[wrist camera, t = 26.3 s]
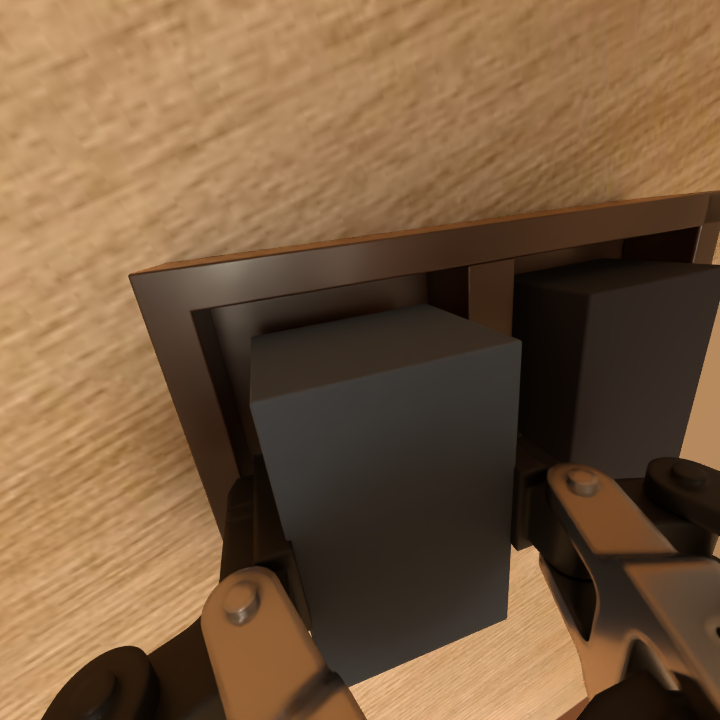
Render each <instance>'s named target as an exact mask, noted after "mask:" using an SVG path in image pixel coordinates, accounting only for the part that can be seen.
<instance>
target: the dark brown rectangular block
mask: <svg viewBox="0 0 720 720" xmlns="http://www.w3.org/2000/svg"><path fill="white" fill-rule="evenodd" d="M719 301H720V265H712V264H695V263H678V262H661V261H644V260H627V259H610V258H602V259H596V260H591V261H586V262H580V263H575V264H569V265H564V266H558V267H553V268H548V269H542V270H537V271H531V272H526V273H521V274H515V275H514V294H513V317H512V337H513V338H516V339H519V340H521V342H522V352H521V371H520V389H519V407H518V426H517V431H519V432H520V433H521V434H522V436H526V437H527V438H528V439H530V440H531V441H532V442H534V443H535V444H536V445H538V446H539V447H540V448H542V449H543V450H545V451H546V452H547V453H549V454H550V455H551V456H553V457H554V458H555V459H557V460H558V461H560V462H561V463H566V462H573V463H581V464H585V465H589V466H592V467H595V468H597V469H599V470H601V471H603V472H604V473H606V474H608V475H609V476H610V477H611V478H612V479H622V478H643V477H645V474H646V469H647V465H648V463H649V462H650V461H651V460H653V459H656V458H661V457H675V458H679V455H680V451H681V448H682V444H683V440H684V436H685V432H686V428H687V425H688V421H689V417H690V413H691V409H692V405H693V401H694V398H695V394H696V389H697V386H698V382H699V378H700V375H701V371H702V367H703V363H704V359H705V355H706V351H707V348H708V344H709V340H710V336H711V332H712V328H713V325H714V321H715V317H716V313H717V309H718V305H719Z"/></svg>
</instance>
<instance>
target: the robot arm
mask: <svg viewBox="0 0 720 720" xmlns="http://www.w3.org/2000/svg"><path fill="white" fill-rule="evenodd" d="M253 473H254V474H251V475H248V476H244V477H240V478H237V480H236V481H235V483H234V484H233V486H232V488H231V489H230V491H229V493H228V498H227V508H226V510H227V512H226V518H225V525H226V526H225V528H224V539H223V549H222V559H221V570H220V580H219V584H218V585H217V586H216V588H215V589H214V590H213V591H212V593H211V594H210V595H209V597H208V599H207V601H206V602H205V605H204V607H203V610H202V615H201V616H200V617H199V618H198V619H197V620H196V621H195V622H194V623H193V624H192V625H191V626H189V627H188V628H187V629H186V630H184V631H183V632H181V633H180V634H179V635H177V636H176V637H174V638H173V639H171V640H170V641H168V642H167V643H165V644H164V645H162V646H161V647H159V648H158V649H156V650H155V651H153V652H152V653H150V654H149V655H146V654H145V652H144V651H143V650H141V649H140V648H138V647H134V646H123V647H118V648H115V649H112V650H109V651H107V652H105V653H103V654H101V655H100V656H98V657H96V658H95V659H93V660H92V661H90V662H89V663H88V664H87V665H85V666H84V667H83V668H81V669H80V670H79V671H78V672H77V673H76V674H75V675H74V676H73V677H72V678H71V679H70V680H69V681H68V682H67V683H66V684H65V685H64V687H63V688H62V689H61V690H60V692H59V693H58V694H57V695H56V697H55V698H54V700H53V701H52V703H51V704H50V706H49V707H48V709H47V711H46V712H45V714H44V716H43V717H42V719H41V720H367V719H366V717H365V715H364V714H363V712H362V710H361V709H360V707H359V705H358V703H357V702H356V700H355V698H354V697H353V695H352V693H351V691H350V690H349V688H348V687H347V685H346V683H345V682H344V680H343V679H342V678H341V676H340V675H339V674H338V673H337V672H336V671H334V672H332V671H331V670H330V668H329V667H328V665H327V664H326V662H325V660H324V659H323V657H322V655H321V653H320V652H319V650H318V648H317V646H316V644H315V643H314V641H313V639H312V637H311V636H310V634H309V632H308V631H310V630H313V625H312V619H311V614H310V611H309V607H308V603H307V599H306V595H305V591H304V588H303V584H302V580H301V576H300V572H299V569H298V565H297V561H296V557H295V553H294V549H293V546H292V542H291V540H290V541H287V540H286V539H285V535H284V532H283V528H282V524H281V521H280V517H279V513H278V509H277V506H276V502H275V498H274V495H273V491H272V487H271V483H270V480H269V476H268V472H267V469H266V465H265V461H264V457H263V454H262V453H259V454H255V455H254V457H253ZM719 536H720V471H718V470H715V469H713V468H710V467H707V466H705V465H702V464H700V463H697V462H694V461H690V460H686V459H681V458H675V457H661V458H656V459H653V460H651V461H650V462H649V463H648V465H647V469H646V474H645V477H643V478H622V479H612V478H611V477H610V476H609V475H608V474H606V473H604V472H603V471H601V470H599V469H597V468H595V467H592V466H589V465H585V464H581V463H573V462H566V463H561V462H560V461H558V460H557V459H555V458H554V457H553V456H551V455H550V454H549V453H547V452H546V451H545V450H543V449H542V448H540V447H539V446H538V445H536V444H535V443H534V442H532V441H531V440H530V439H528V438H527V437H526V436H522V434H521V433H520V432H519V431H517V444H516V462H515V468H514V478H513V497H512V515H511V534H510V543H511V544H512V545H513V547H514V548H515V549H516V550H517V551H519V550H522V549H524V548H527V547H530V546H532V545H534V547H535V548H536V549H537V550H538V551H539V552H540V553H539V566H540V568H541V571H542V573H543V575H544V578H545V580H546V582H547V584H548V586H549V589H550V591H551V593H552V595H553V598H554V600H555V602H556V604H557V606H558V609H559V611H560V613H561V615H562V618H563V620H564V622H565V624H566V626H567V629H568V631H569V633H570V635H571V638H572V640H573V642H574V644H575V647H576V649H577V652H578V655H579V658H580V662H581V666H582V673H583V679H584V684H585V688H586V692H587V695H588V698H589V701H590V702H589V704H588V705H587V706H586V708H585V709H584V710H583V712H582V713H581V714H580V716H579V717H578V718H577V720H720V559H719V558H717V557H715V556H713V555H712V554H713V551H714V548H715V545H716V542H717V540H718V537H719Z"/></svg>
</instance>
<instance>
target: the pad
mask: <svg viewBox="0 0 720 720" xmlns="http://www.w3.org/2000/svg"><path fill="white" fill-rule="evenodd" d="M521 352H522V342H521V340H519V339H516V338H513V337H511V336H508V335H506V334H503V333H501V332H498V331H495V330H493V329H490V328H488V327H485V326H483V325H480V324H477V323H475V322H472V321H470V320H467V319H464V318H462V317H459V316H457V315H454V314H452V313H449V312H446V311H444V310H441V309H439V308H436V307H433V306H431V305H428V304H421V305H416V306H410V307H405V308H400V309H395V310H389V311H384V312H379V313H374V314H368V315H363V316H358V317H353V318H347V319H342V320H337V321H332V322H326V323H321V324H316V325H311V326H305V327H300V328H295V329H290V330H285V331H279V332H274V333H269V334H264V335H258V336H253V337H252V338H251V366H250V409H251V413H252V417H253V420H254V424H255V428H256V431H257V435H258V439H259V443H260V446H261V450H262V454H263V457H264V461H265V465H266V469H267V472H268V476H269V480H270V483H271V487H272V491H273V495H274V498H275V502H276V506H277V509H278V513H279V517H280V521H281V524H282V528H283V532H284V535H285V539H286V540H287V541H290V540H291V542H292V546H293V549H294V553H295V557H296V561H297V565H298V569H299V572H300V576H301V580H302V584H303V588H304V591H305V595H306V599H307V603H308V607H309V611H310V614H311V619H312V625H313V630H310V632H311V636H312V639H313V641H314V643H315V644H316V646H317V648H318V650H319V652H320V653H321V655H322V657H323V659H324V660H325V662H326V664H327V665H328V667H329V668H330V670H331V671H332V672H334V671H336V672H337V673H338V674H339V675H340V676H341V678H342V679H343V680H344V682H345V683H346V685H347V687H350V686H353V685H355V684H357V683H360V682H362V681H364V680H367V679H369V678H371V677H373V676H376V675H378V674H380V673H383V672H385V671H387V670H390V669H392V668H394V667H397V666H399V665H401V664H403V663H406V662H408V661H410V660H413V659H415V658H417V657H420V656H422V655H424V654H427V653H429V652H431V651H434V650H436V649H438V648H440V647H443V646H445V645H447V644H450V643H452V642H454V641H457V640H459V639H461V638H464V637H466V636H468V635H470V634H473V633H475V632H477V631H480V630H482V629H484V628H487V627H489V626H491V625H494V624H496V623H498V622H501V621H503V620H505V619H506V618H507V609H508V590H509V572H510V554H511V543H510V534H511V515H512V497H513V478H514V468H515V462H516V444H517V426H518V407H519V389H520V371H521Z"/></svg>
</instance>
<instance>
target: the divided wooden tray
mask: <svg viewBox="0 0 720 720" xmlns="http://www.w3.org/2000/svg"><path fill="white" fill-rule="evenodd" d="M719 231H720V190H719V191H709V192H699V193H689V194H679V195H669V196H660V197H650V198H640V199H630V200H621V201H614V202H607V203H599V204H592V205H585V206H578V207H570V208H563V209H556V210H549V211H541V212H534V213H527V214H519V215H512V216H505V217H498V218H490V219H483V220H476V221H469V222H461V223H454V224H447V225H439V226H432V227H425V228H418V229H410V230H403V231H396V232H389V233H381V234H374V235H367V236H359V237H352V238H345V239H338V240H330V241H323V242H316V243H309V244H301V245H294V246H287V247H279V248H272V249H265V250H258V251H250V252H243V253H236V254H229V255H221V256H214V257H207V258H199V259H192V260H185V261H178V262H170V263H165V264H162V265H158V266H155V267H152V268H148V269H145V270H141V271H138V272H135V273H131V274H129V275H128V277H129V280H130V283H131V286H132V288H133V291H134V294H135V297H136V300H137V302H138V305H139V308H140V311H141V313H142V316H143V319H144V322H145V325H146V327H147V330H148V333H149V336H150V339H151V341H152V344H153V347H154V350H155V353H156V355H157V358H158V361H159V364H160V367H161V369H162V372H163V375H164V378H165V380H166V383H167V386H168V389H169V392H170V394H171V397H172V400H173V403H174V406H175V408H176V411H177V414H178V417H179V420H180V422H181V425H182V428H183V431H184V434H185V436H186V439H187V442H188V445H189V447H190V450H191V453H192V456H193V459H194V461H195V464H196V467H197V470H198V473H199V475H200V478H201V481H202V484H203V487H204V489H205V492H206V495H207V498H208V501H209V503H210V506H211V509H212V512H213V514H214V517H215V520H216V523H217V526H218V528H219V531H220V534H221V537H222V540H223V539H224V528H225V526H226V525H225V518H226V512H227V510H226V508H227V498H228V493H229V491H230V489H231V488H232V486H233V484H234V483H235V481H236V480H237V478H240V477H244V476H248V475H251V474H254V473H253V457H254V455H255V454H259V453H262V450H261V446H260V443H259V439H258V435H257V431H256V428H255V424H254V420H253V417H252V413H251V409H250V366H251V338H252V337H253V336H258V335H264V334H269V333H274V332H279V331H285V330H290V329H295V328H300V327H305V326H311V325H316V324H321V323H326V322H332V321H337V320H342V319H347V318H353V317H358V316H363V315H368V314H374V313H379V312H384V311H389V310H395V309H400V308H405V307H410V306H416V305H421V304H428V305H431V306H433V307H436V308H439V309H441V310H444V311H446V312H449V313H452V314H454V315H457V316H459V317H462V318H464V319H467V320H470V321H472V322H475V323H477V324H480V325H483V326H485V327H488V328H490V329H493V330H495V331H498V332H501V333H503V334H506V335H508V336H511V337H512V317H513V294H514V275H515V274H521V273H526V272H531V271H537V270H542V269H548V268H553V267H558V266H564V265H569V264H575V263H580V262H586V261H591V260H596V259H602V258H610V259H627V260H644V261H661V262H678V263H695V264H712V260H713V256H714V252H715V248H716V244H717V240H718V235H719Z"/></svg>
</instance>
